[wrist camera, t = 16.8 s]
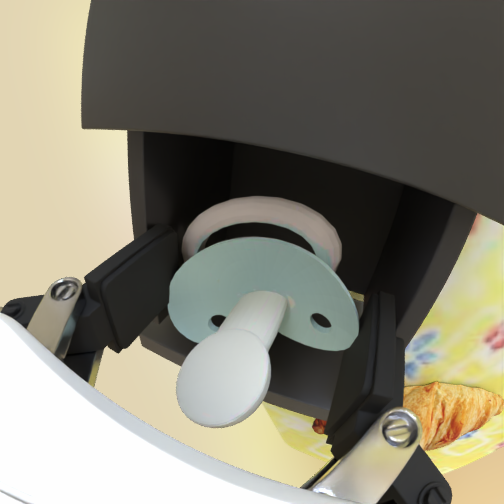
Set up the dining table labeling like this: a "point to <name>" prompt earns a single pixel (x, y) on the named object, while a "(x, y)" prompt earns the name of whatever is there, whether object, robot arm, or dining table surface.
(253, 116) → the cabinet
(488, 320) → the dining table surface
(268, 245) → the pacifier
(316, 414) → the drawer
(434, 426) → the croissant
